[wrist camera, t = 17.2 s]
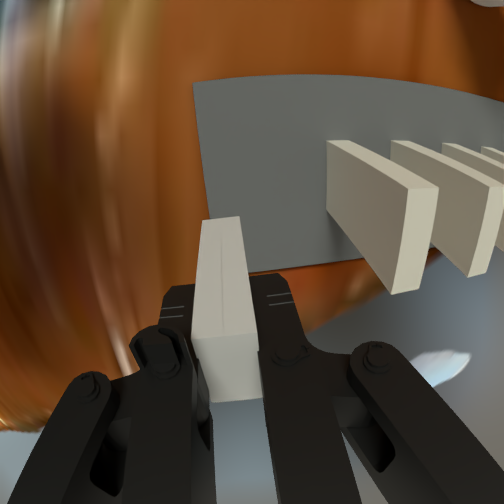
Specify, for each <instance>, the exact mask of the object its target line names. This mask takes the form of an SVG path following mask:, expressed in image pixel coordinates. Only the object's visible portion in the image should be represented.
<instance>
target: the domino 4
mask: <svg viewBox="0 0 504 504" xmlns="http://www.w3.org/2000/svg"><path fill="white" fill-rule="evenodd" d="M481 154H482V155H485V156H487V157H489V158H491V159H494V160H496V161H498V162H500V163H502V164H504V153H503V152H501V151H499V150H496V149H494V148H490V147H482V146H481Z"/></svg>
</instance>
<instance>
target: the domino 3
mask: <svg viewBox="0 0 504 504" xmlns="http://www.w3.org/2000/svg"><path fill="white" fill-rule="evenodd" d="M441 154H442V155H445V156H447V157H449V158H451V159H453V160H456V161H458V162H460V163H462V164H464V165H466V166H468V167H471V168H473V169H475V170H477V171H479V172H481V173H483V174H485V175H487V176H489V177H490V178H492V179H494V180H496V181H498V182H500V183H502V184H503V185H504V164H502V163H500V162H498V161H496V160H494V159H491V158H489V157H487V156H485V155H482V154H480V153H477V152H475V151H473V150H470V149H468V148H465V147H463V146H460V145H458V144H452V143H442V152H441ZM495 246H497V247H498V248H499V249H500V250H502V251H503V252H504V209H503V214H502V218H501V222H500V226H499V230H498V234H497V238H496V241H495Z"/></svg>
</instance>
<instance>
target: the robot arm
mask: <svg viewBox="0 0 504 504" xmlns="http://www.w3.org/2000/svg"><path fill="white" fill-rule="evenodd" d="M161 308H162V310H161V312H160V319H159V322H158V325H153V326H149V327H147V328H145V329H143V330H141V331H139V332H138V333H137V334H136V335H135V336H134V337H133V338H132V340H131V342H130V344H129V348H130V350H131V352H132V354H133V356H134V358H135V360H136V362H137V364H138V366H139V368H140V370H139V371H137V372H136V373H133V374H131V375H129V376H125V377H122V378H118V379H115V380H111V381H110V380H109V379H108V378H107V376H106V375H104V374H102V373H100V372H93V371H90V372H86V373H83V374H81V375H79V376H78V377H76V378H74V380H73V381H72V382H71V383H70V384H69V386H68V387H67V389H66V391H65V392H64V394H63V396H62V397H61V399H60V401H59V403H58V404H57V406H56V408H55V410H54V411H53V413H52V415H51V417H50V418H49V420H48V422H47V424H46V426H45V428H44V429H43V431H42V433H41V435H40V437H39V439H38V441H37V443H36V444H35V446H34V449H33V450H32V452H31V454H30V456H29V458H28V460H27V462H26V464H25V466H24V468H23V470H22V472H21V475H20V477H19V479H18V481H17V483H16V485H15V488H14V490H13V492H12V494H11V496H10V498H9V501H8V503H7V504H217V502H216V486H215V466H214V442H213V419H212V415H211V412H210V409H209V396H210V399H211V402H212V403H216V402H228V401H238V400H248V399H255V398H263V403H264V410H265V420H266V427H267V433H268V439H269V446H270V453H271V459H272V466H273V473H274V479H275V485H276V492H277V499H278V504H362V502H361V498H360V495H359V491H358V488H357V484H356V481H355V477H354V474H353V471H352V467H351V464H350V460H349V457H348V453H347V450H346V447H345V443H344V440H343V437H342V433H343V434H344V436H345V437H346V439H347V441H348V442H349V444H350V445H351V447H352V448H353V450H354V452H355V453H356V455H357V456H358V458H359V459H360V461H361V462H362V464H363V466H364V467H365V469H366V470H367V472H368V473H369V475H370V476H371V478H372V479H373V481H374V482H375V484H376V485H377V487H378V488H379V490H380V491H381V493H382V494H383V496H384V497H385V499H386V500H387V502H388V503H389V504H504V471H503V470H502V469H501V467H500V466H499V465H498V464H497V462H496V461H495V460H494V459H493V457H492V456H491V455H490V454H489V453H488V451H487V450H486V449H485V448H484V447H483V445H482V444H481V443H480V442H479V441H478V439H477V438H476V437H475V436H474V435H473V434H472V432H471V431H470V430H469V429H468V428H467V427H466V425H465V424H464V423H463V422H462V421H461V419H460V418H459V417H458V416H457V415H456V414H455V413H454V411H453V410H452V409H451V408H450V407H449V406H448V405H447V404H446V402H445V401H444V400H443V399H442V398H441V397H440V396H439V394H438V393H437V392H436V391H435V390H434V389H433V388H432V387H431V385H430V384H429V383H428V382H427V381H426V380H425V379H424V378H423V377H422V375H421V374H420V373H419V372H418V371H417V370H416V369H415V368H414V367H413V366H412V365H411V363H410V362H409V361H408V360H407V359H406V358H405V357H404V356H403V355H402V354H401V353H400V352H399V351H398V350H397V349H396V348H395V347H393V346H392V345H390V344H387V343H384V342H378V341H370V342H367V343H363V344H361V345H360V346H358V347H357V348H355V349H354V351H353V352H352V354H351V355H350V354H334V353H328V352H324V351H322V350H319V349H317V348H316V347H314V346H312V345H311V343H309V342H308V340H307V339H306V337H305V334H304V331H303V328H302V325H301V322H300V319H299V316H298V313H297V310H296V306H295V303H294V300H293V297H292V294H291V291H290V288H289V285H288V282H287V281H286V280H285V279H284V278H283V277H282V276H281V275H280V274H279V273H274V274H266V275H258V276H250V277H249V276H248V270H247V263H246V257H245V250H244V244H243V237H242V230H241V224H240V217H239V216H235V217H227V218H219V219H210V220H202V228H201V237H200V246H199V255H198V264H197V274H196V284H189V285H180V286H172V287H171V288H170V289H169V291H168V292H167V293H166V294H165V296H164V298H163V303H162V307H161ZM341 431H342V433H341Z"/></svg>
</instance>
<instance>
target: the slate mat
mask: <svg viewBox="0 0 504 504" xmlns="http://www.w3.org/2000/svg"><path fill="white" fill-rule="evenodd" d="M193 93H194V101H195V110H196V118H197V127H198V135H199V143H200V150H201V158H202V166H203V173H204V180H205V187H206V194H207V201H208V208H209V215H210V219H219V218H227V217H235V216H239V217H240V224H241V230H242V237H243V244H244V250H245V257H246V263H247V270H248V273H251V272H259V271H267V270H275V269H283V268H290V267H298V266H306V265H313V264H321V263H328V262H336V261H343V260H350V259H358V258H364V257H363V256H362V254H361V253H360V252H359V250H358V249H357V248H356V246H355V245H354V244H353V243H352V241H351V240H350V239H349V237H348V236H347V235H346V234H345V232H344V231H343V230H342V229H341V227H340V226H339V225H338V223H337V222H336V221H335V220H334V219H333V217H332V216H331V215H330V214H329V212H328V211H327V210H326V201H327V146H326V141H333V140H349V141H351V142H354V143H356V144H358V145H360V146H362V147H364V148H366V149H368V150H370V151H372V152H374V153H376V154H378V155H380V156H382V157H384V158H386V159H388V160H390V153H391V140H397V141H410V142H413V143H416V144H418V145H421V146H423V147H426V148H428V149H430V150H433V151H435V152H438V153H440V154H441V152H442V143H452V144H458V145H460V146H463V147H465V148H468V149H470V150H473V151H475V152H477V153H480V154H481V146H482V147H490V148H494V149H496V150H499V151H501V152H503V153H504V103H503V102H500V101H497V100H493V99H490V98H486V97H482V96H478V95H474V94H470V93H466V92H462V91H457V90H453V89H448V88H443V87H438V86H432V85H427V84H420V83H414V82H407V81H400V80H392V79H383V78H372V77H360V76H344V75H268V76H251V77H239V78H228V79H219V80H210V81H202V82H195V83H193ZM433 247H435V246H434V245H433V244H432V243H431V242H430V244H429V248H433Z"/></svg>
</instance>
